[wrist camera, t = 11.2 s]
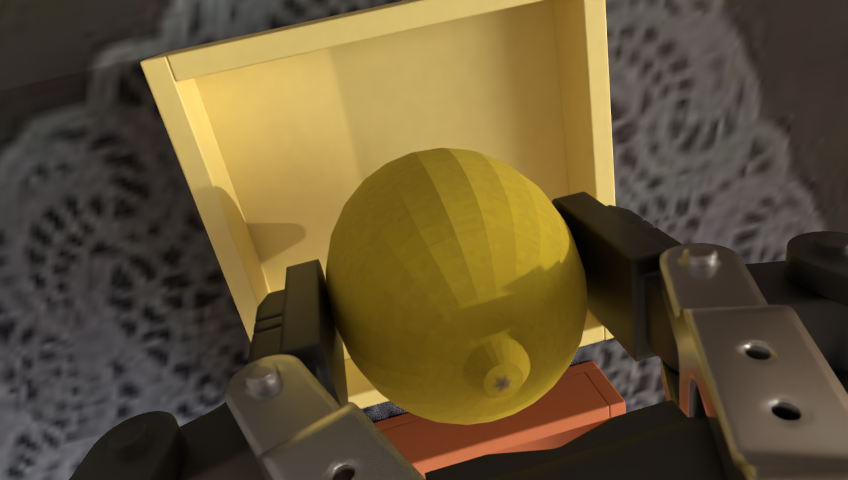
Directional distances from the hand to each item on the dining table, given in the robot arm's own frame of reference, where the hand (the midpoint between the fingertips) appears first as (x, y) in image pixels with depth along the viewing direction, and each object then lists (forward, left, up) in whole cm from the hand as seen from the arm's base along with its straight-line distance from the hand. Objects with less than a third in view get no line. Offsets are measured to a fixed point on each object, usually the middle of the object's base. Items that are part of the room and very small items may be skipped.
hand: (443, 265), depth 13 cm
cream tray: (0, 0, -5) cm, 5 cm away
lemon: (0, 0, -4) cm, 4 cm away
